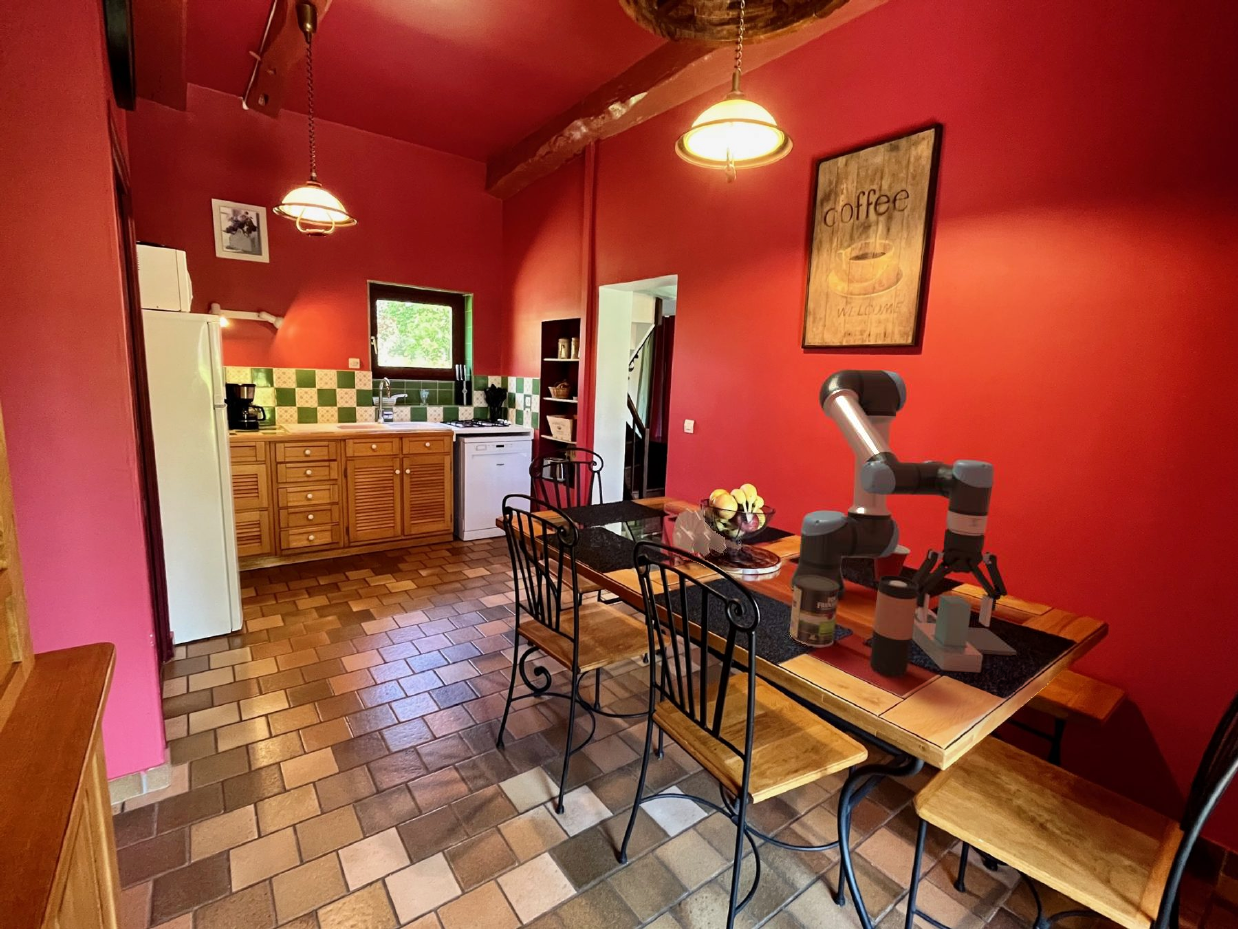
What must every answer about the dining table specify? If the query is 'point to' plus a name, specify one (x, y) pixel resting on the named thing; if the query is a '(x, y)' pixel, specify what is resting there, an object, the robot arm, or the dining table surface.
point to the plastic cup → (891, 563)
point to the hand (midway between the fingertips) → (952, 622)
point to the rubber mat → (988, 642)
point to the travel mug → (893, 625)
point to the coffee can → (814, 610)
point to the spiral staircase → (698, 534)
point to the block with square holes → (944, 648)
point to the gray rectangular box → (952, 621)
